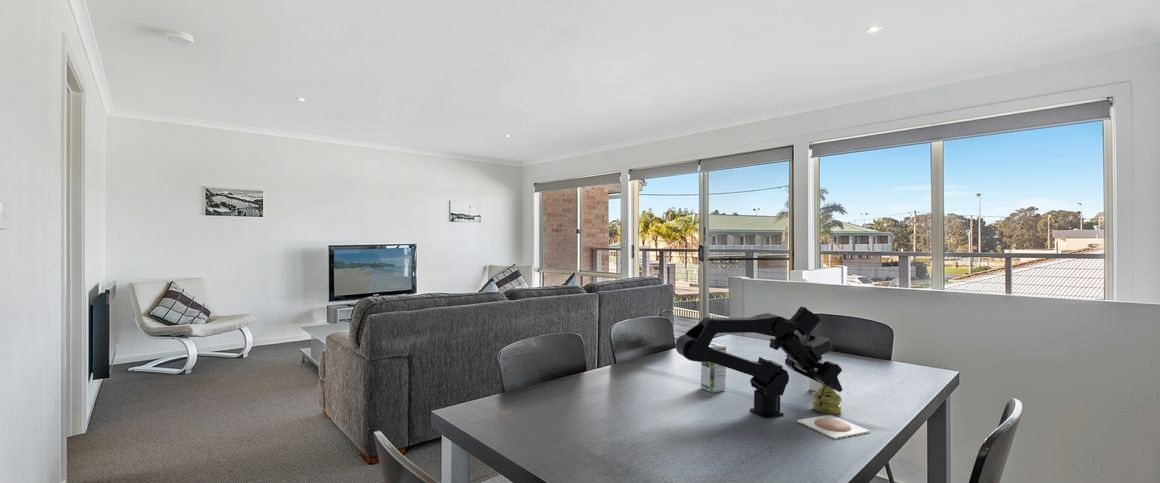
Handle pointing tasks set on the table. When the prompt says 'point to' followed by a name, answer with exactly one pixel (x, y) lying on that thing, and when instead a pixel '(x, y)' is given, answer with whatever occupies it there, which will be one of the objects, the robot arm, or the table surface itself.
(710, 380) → the syrup box
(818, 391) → the brass door knob
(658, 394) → the table surface
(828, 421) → the card
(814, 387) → the eye dropper bottle
